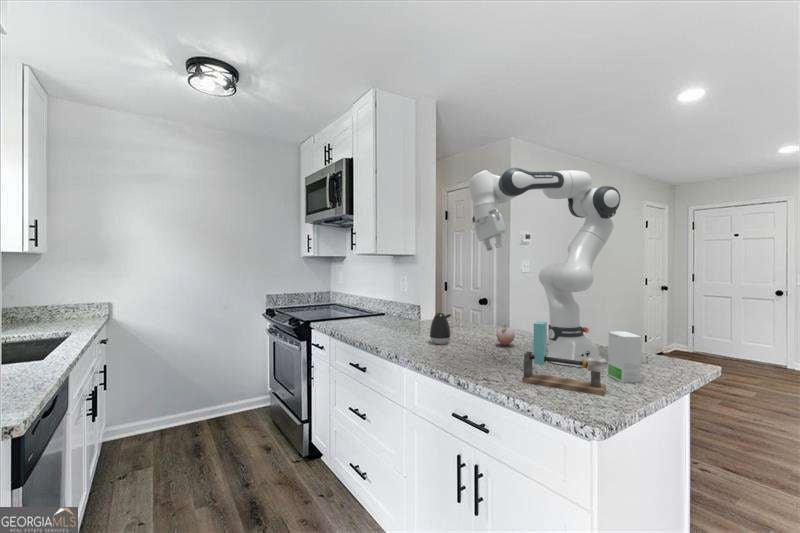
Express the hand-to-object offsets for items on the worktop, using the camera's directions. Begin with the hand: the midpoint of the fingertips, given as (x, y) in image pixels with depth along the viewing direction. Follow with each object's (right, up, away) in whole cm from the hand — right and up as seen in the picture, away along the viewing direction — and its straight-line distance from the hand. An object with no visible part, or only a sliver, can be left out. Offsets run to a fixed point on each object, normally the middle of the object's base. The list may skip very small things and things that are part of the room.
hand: (494, 249), depth 144 cm
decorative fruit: (+15, -44, +36) cm, 59 cm away
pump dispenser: (-16, -44, +43) cm, 64 cm away
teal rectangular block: (+11, -39, -17) cm, 44 cm away
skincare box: (+41, -45, -14) cm, 62 cm away
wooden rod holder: (+17, -45, -20) cm, 52 cm away
